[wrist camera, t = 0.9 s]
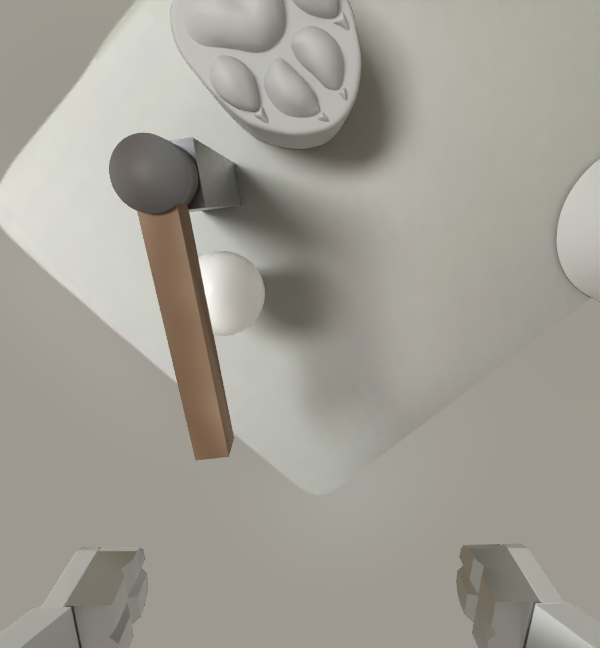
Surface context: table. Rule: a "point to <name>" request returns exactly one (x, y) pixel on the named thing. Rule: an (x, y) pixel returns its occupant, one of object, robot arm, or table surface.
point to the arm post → (211, 177)
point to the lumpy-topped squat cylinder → (274, 63)
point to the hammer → (177, 279)
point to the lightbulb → (231, 291)
